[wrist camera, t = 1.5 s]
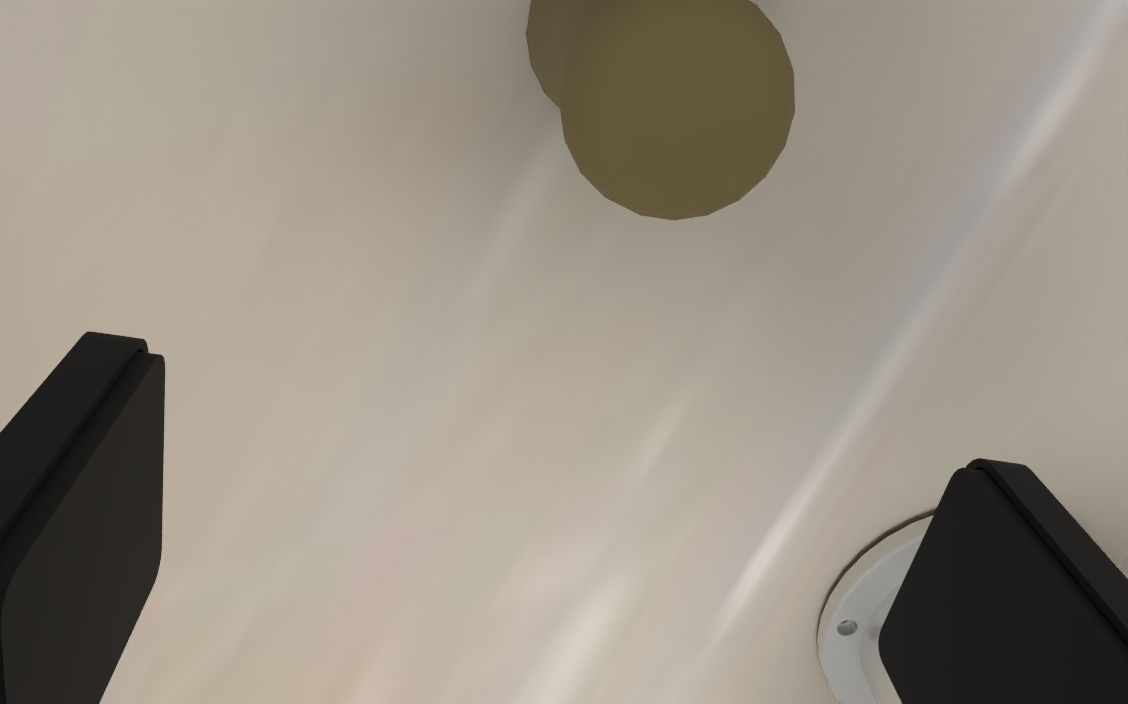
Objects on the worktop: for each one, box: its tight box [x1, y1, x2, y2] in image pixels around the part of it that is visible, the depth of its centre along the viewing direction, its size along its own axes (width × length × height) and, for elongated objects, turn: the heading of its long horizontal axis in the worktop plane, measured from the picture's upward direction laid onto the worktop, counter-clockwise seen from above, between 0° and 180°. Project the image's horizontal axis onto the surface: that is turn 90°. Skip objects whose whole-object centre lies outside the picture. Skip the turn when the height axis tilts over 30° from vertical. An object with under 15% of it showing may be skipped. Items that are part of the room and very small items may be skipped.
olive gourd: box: [526, 0, 795, 220], centre depth 25 cm, size 6×6×11 cm
